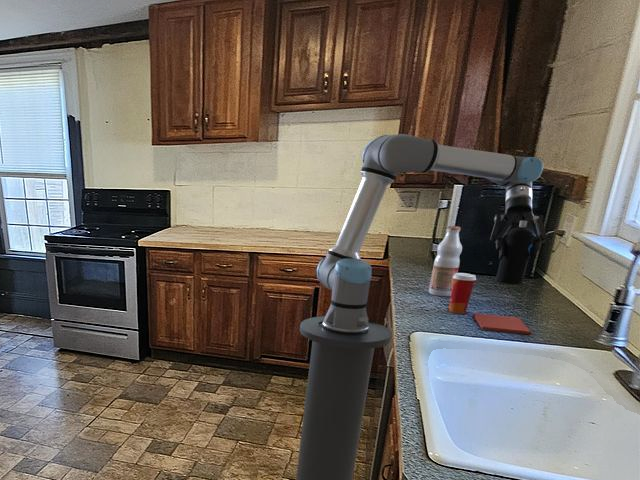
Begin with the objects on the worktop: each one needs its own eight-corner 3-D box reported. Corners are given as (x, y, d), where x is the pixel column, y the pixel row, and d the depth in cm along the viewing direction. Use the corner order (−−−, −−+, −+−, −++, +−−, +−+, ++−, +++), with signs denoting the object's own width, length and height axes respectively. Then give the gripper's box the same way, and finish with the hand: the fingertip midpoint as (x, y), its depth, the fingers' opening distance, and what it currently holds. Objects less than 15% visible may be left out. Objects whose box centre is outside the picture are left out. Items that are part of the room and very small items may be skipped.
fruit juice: (423, 291, 228) (436, 225, 218) (443, 291, 229) (457, 225, 219) (437, 297, 219) (451, 228, 209) (457, 296, 220) (472, 228, 210)
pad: (481, 329, 177) (482, 326, 176) (473, 315, 192) (474, 313, 192) (530, 334, 172) (531, 331, 172) (518, 320, 188) (518, 317, 187)
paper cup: (457, 308, 202) (465, 272, 197) (473, 313, 195) (482, 276, 190) (440, 309, 200) (448, 273, 195) (456, 315, 193) (464, 277, 188)
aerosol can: (501, 284, 173) (516, 221, 166) (490, 279, 181) (504, 219, 174) (528, 285, 172) (544, 222, 165) (516, 280, 180) (531, 219, 173)
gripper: (486, 194, 179) (483, 248, 171) (559, 196, 172) (560, 253, 164) (480, 209, 186) (477, 262, 177) (550, 211, 179) (551, 267, 170)
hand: (517, 257), depth 171 cm, fingers closed on aerosol can, 8 cm apart
